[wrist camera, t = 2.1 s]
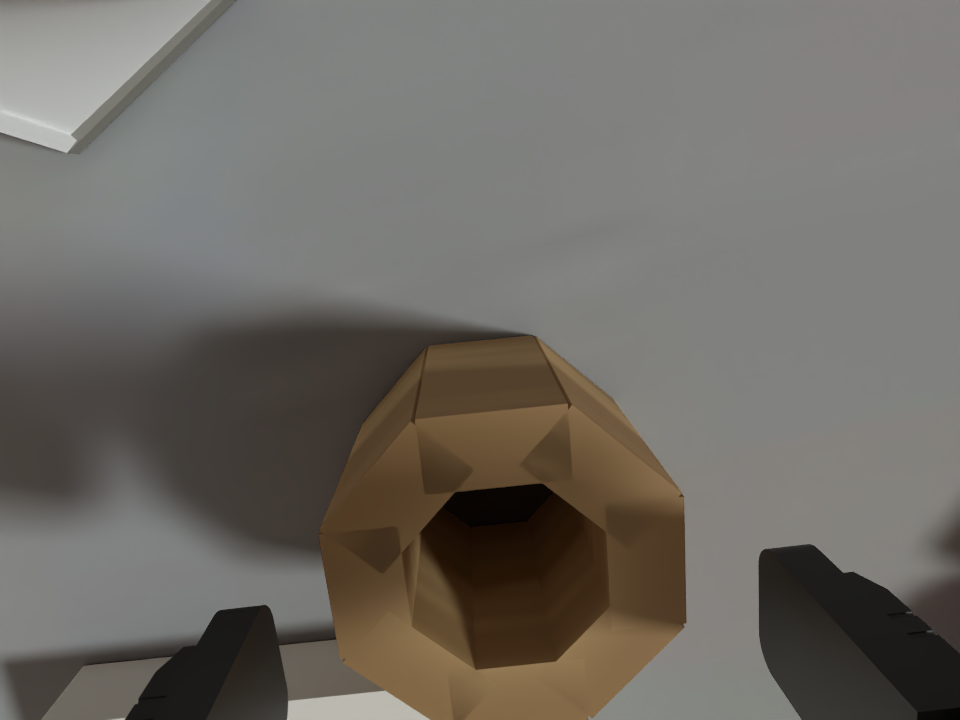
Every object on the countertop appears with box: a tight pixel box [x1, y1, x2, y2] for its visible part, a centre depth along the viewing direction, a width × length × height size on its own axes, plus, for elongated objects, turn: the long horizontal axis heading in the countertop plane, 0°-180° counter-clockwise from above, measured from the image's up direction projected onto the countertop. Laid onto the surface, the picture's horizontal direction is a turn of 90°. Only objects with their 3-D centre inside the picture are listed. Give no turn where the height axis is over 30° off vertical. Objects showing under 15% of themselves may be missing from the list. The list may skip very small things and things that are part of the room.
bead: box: [318, 335, 686, 720], centre depth 13 cm, size 6×6×5 cm
